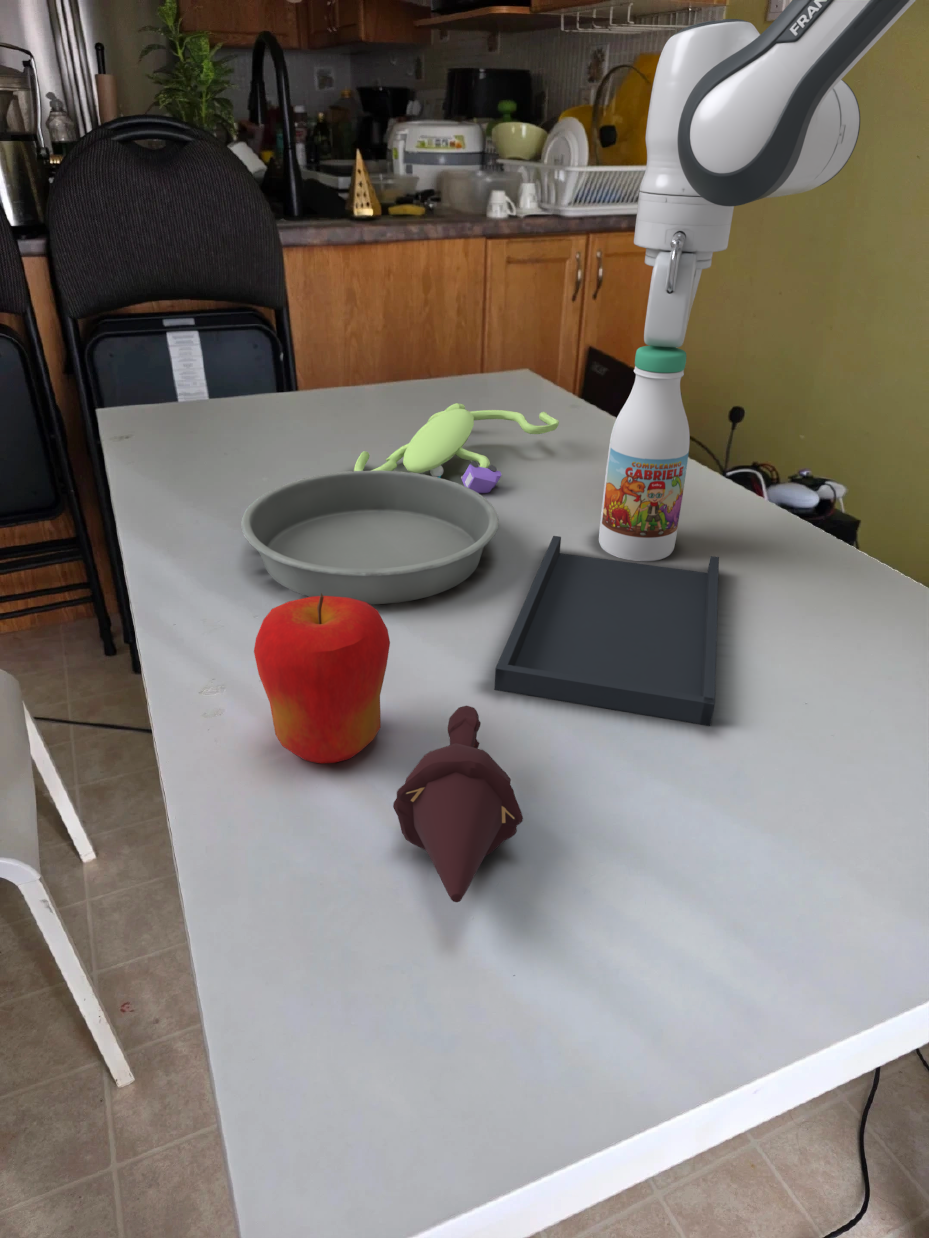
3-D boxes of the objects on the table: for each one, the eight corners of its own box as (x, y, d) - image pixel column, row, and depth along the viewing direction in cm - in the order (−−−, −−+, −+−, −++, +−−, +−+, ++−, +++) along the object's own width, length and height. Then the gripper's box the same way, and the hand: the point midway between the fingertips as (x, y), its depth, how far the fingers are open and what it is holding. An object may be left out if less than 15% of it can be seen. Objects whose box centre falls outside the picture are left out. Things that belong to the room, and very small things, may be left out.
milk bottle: (584, 537, 93) (604, 342, 83) (648, 529, 95) (675, 338, 85) (621, 568, 86) (647, 361, 76) (688, 558, 89) (722, 356, 79)
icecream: (548, 861, 43) (528, 706, 57) (402, 826, 42) (417, 678, 56) (506, 963, 46) (497, 792, 60) (368, 933, 45) (390, 766, 59)
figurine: (570, 449, 118) (574, 407, 115) (473, 513, 97) (474, 465, 95) (451, 425, 125) (451, 386, 123) (337, 480, 105) (335, 435, 102)
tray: (551, 555, 89) (553, 535, 88) (715, 577, 85) (718, 556, 84) (494, 692, 67) (495, 668, 66) (709, 729, 64) (714, 704, 63)
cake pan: (190, 571, 83) (184, 527, 81) (348, 492, 102) (346, 454, 100) (407, 644, 73) (406, 596, 71) (539, 541, 91) (542, 500, 89)
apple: (386, 704, 65) (383, 560, 60) (396, 777, 58) (393, 621, 52) (267, 712, 64) (252, 566, 58) (262, 787, 57) (245, 629, 51)
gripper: (714, 241, 74) (689, 403, 81) (718, 220, 92) (697, 355, 98) (639, 236, 76) (620, 397, 82) (656, 216, 93) (640, 350, 100)
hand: (662, 374), depth 90 cm, fingers closed
